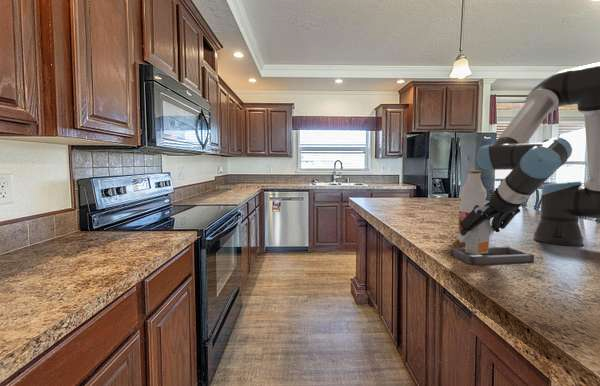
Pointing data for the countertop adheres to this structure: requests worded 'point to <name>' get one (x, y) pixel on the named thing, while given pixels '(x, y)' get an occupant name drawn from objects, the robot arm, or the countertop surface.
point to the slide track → (479, 259)
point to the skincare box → (478, 239)
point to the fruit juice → (471, 195)
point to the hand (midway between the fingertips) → (470, 238)
